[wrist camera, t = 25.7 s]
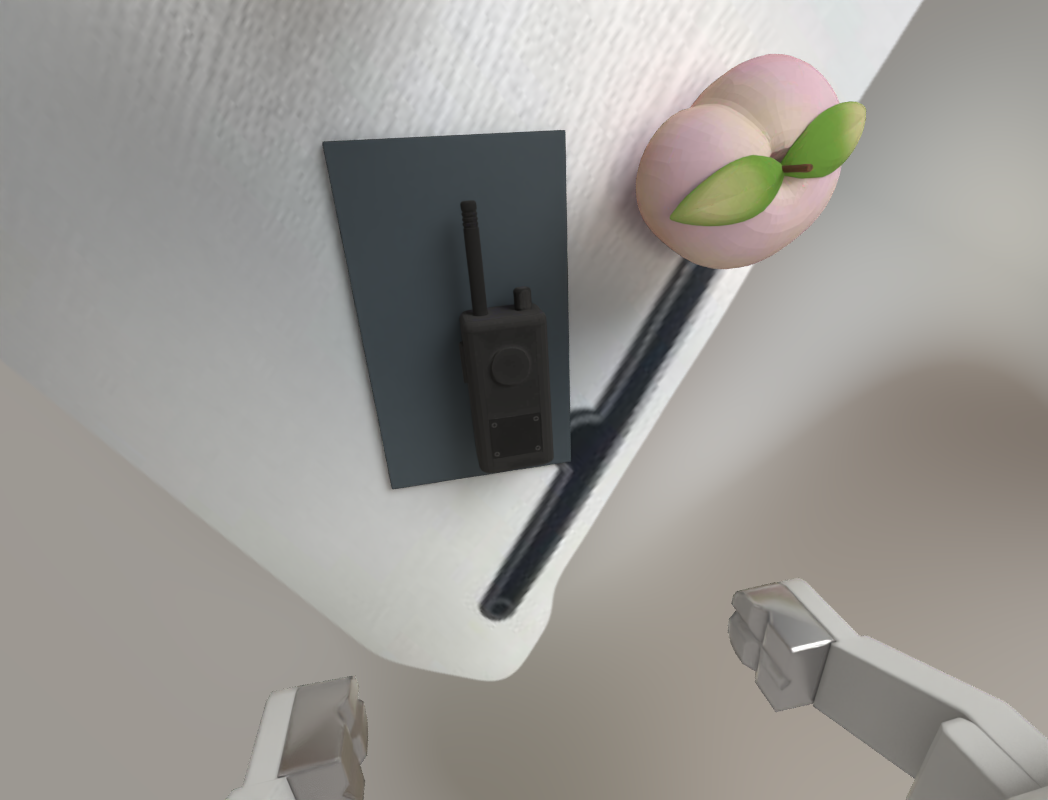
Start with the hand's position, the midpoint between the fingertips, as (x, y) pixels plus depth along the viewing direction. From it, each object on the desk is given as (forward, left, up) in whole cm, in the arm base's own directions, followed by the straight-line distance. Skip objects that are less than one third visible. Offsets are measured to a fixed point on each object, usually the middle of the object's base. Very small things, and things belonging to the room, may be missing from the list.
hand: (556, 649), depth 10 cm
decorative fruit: (+16, +3, -22) cm, 27 cm away
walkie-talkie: (-1, -8, -19) cm, 21 cm away
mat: (+1, +1, -21) cm, 21 cm away
